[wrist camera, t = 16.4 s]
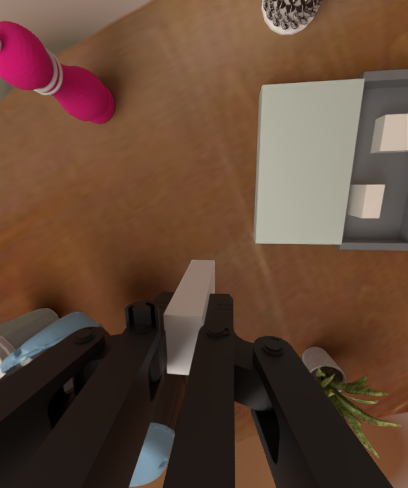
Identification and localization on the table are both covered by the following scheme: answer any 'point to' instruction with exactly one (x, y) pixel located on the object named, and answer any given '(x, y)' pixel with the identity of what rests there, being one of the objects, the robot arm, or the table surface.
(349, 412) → the house plant
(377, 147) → the tile
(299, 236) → the board
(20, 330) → the disposable coffee cup
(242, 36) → the table surface
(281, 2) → the black and white jar
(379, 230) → the tray
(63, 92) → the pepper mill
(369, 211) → the tile
